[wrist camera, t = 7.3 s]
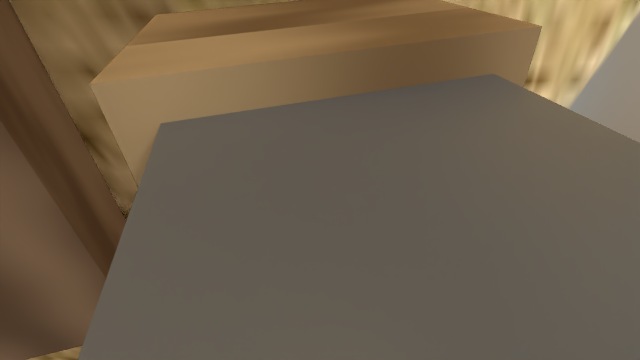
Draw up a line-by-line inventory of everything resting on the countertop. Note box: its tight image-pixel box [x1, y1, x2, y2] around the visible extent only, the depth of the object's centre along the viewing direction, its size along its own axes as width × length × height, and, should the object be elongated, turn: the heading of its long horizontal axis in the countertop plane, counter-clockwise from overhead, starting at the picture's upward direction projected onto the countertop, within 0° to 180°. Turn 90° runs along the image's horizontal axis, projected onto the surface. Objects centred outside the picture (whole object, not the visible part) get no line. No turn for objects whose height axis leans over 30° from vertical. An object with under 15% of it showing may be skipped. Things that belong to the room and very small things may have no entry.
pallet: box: [89, 0, 542, 187], centre depth 10 cm, size 5×18×4 cm, turn 4°
